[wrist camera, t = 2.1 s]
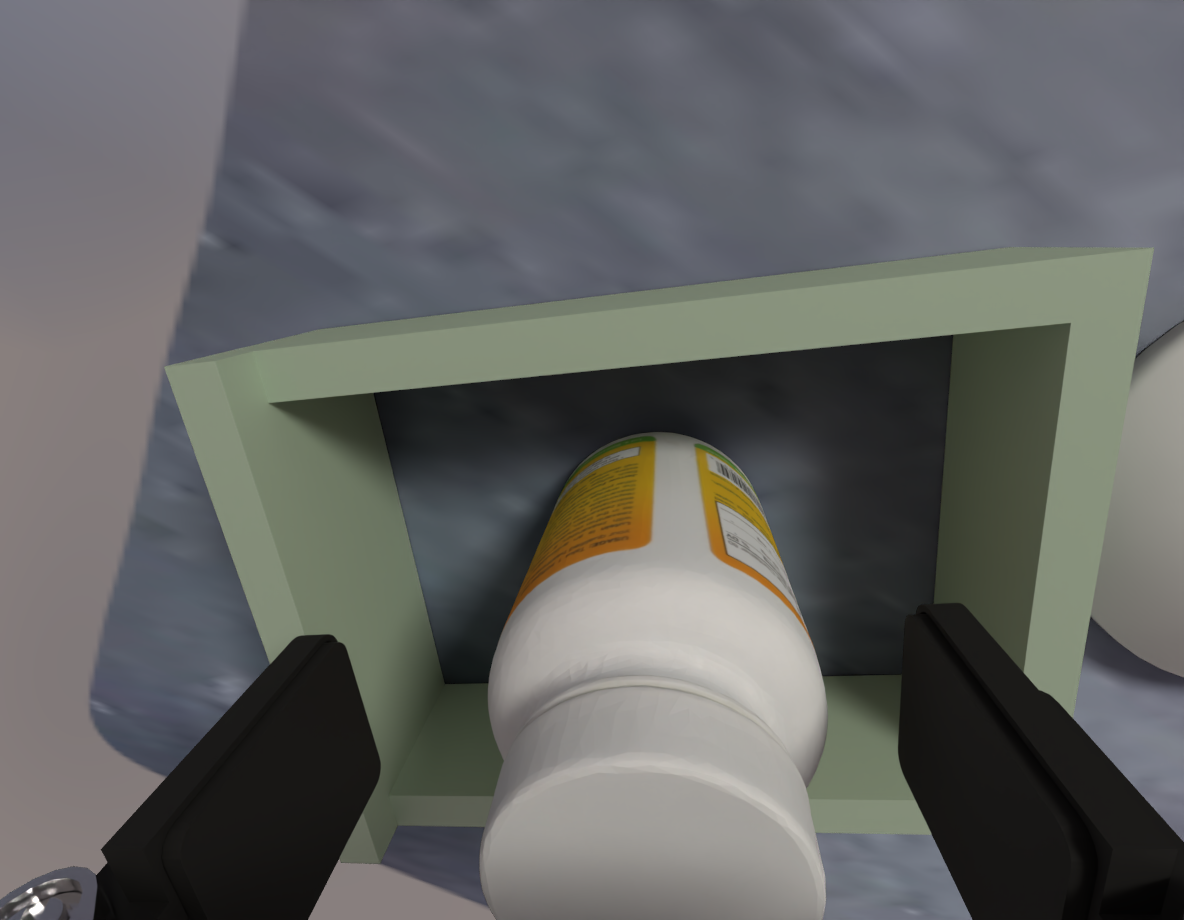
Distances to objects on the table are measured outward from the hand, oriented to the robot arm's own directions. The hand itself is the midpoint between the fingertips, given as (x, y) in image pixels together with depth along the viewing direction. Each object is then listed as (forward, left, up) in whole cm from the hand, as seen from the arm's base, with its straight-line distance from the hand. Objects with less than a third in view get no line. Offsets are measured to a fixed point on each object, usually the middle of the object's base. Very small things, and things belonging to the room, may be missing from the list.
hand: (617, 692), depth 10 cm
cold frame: (-1, 0, -6) cm, 6 cm away
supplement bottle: (-1, 0, -7) cm, 7 cm away
